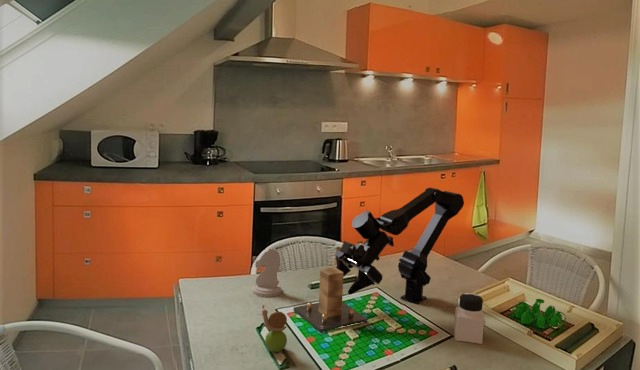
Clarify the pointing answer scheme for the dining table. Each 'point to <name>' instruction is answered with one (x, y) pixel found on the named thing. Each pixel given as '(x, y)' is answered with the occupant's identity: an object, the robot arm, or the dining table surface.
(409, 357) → the dining table surface
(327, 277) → the wood block
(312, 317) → the standoff plate
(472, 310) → the medicine bottle
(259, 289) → the chess piece
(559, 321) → the green bumpy clump
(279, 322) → the snail figurine
